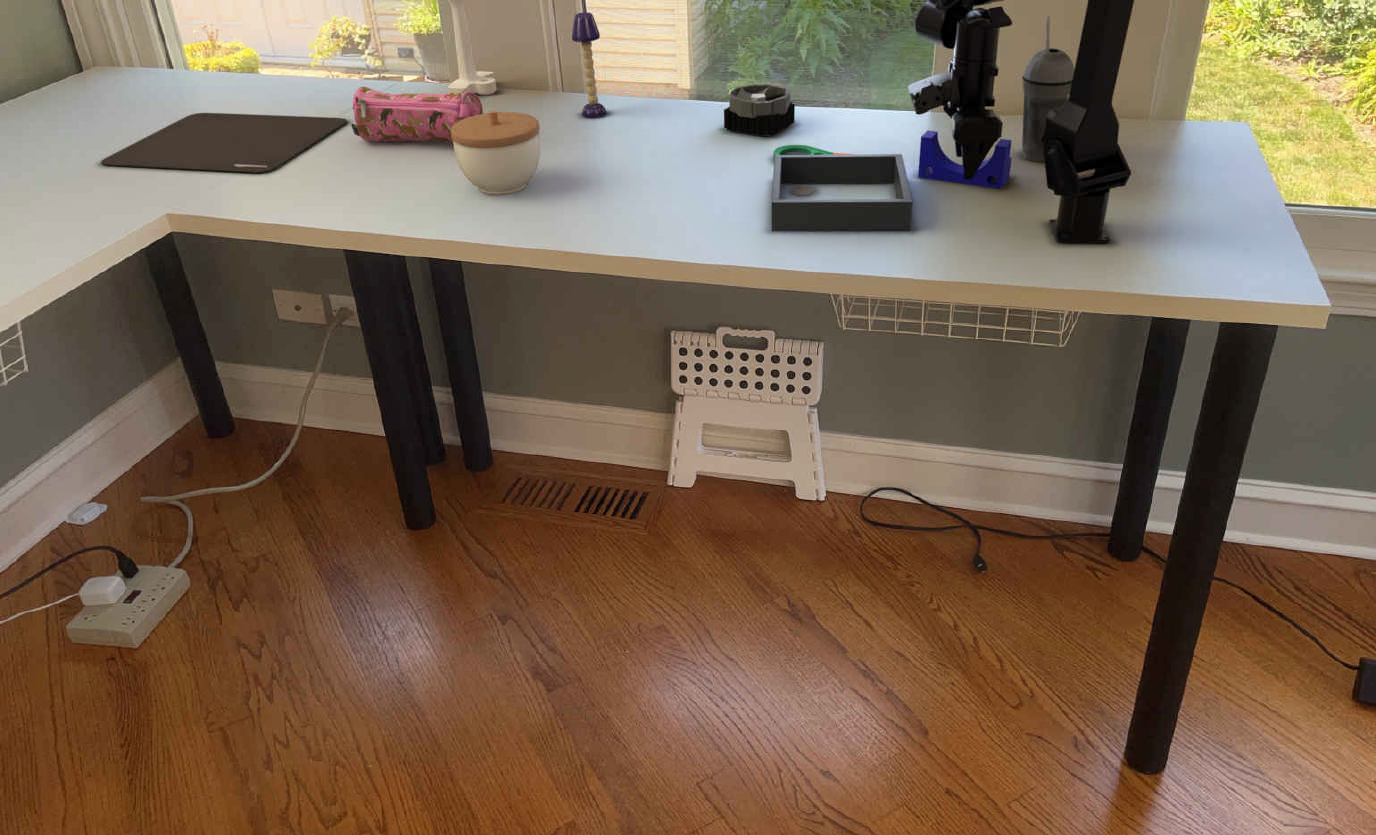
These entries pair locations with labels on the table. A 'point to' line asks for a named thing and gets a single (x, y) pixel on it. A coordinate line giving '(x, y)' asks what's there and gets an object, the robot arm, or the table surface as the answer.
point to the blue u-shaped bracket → (944, 169)
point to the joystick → (467, 58)
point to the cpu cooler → (759, 110)
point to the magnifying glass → (804, 150)
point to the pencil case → (411, 115)
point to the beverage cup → (1043, 94)
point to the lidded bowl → (497, 150)
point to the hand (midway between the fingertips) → (964, 167)
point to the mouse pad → (226, 142)
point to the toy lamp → (588, 60)
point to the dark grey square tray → (840, 210)
